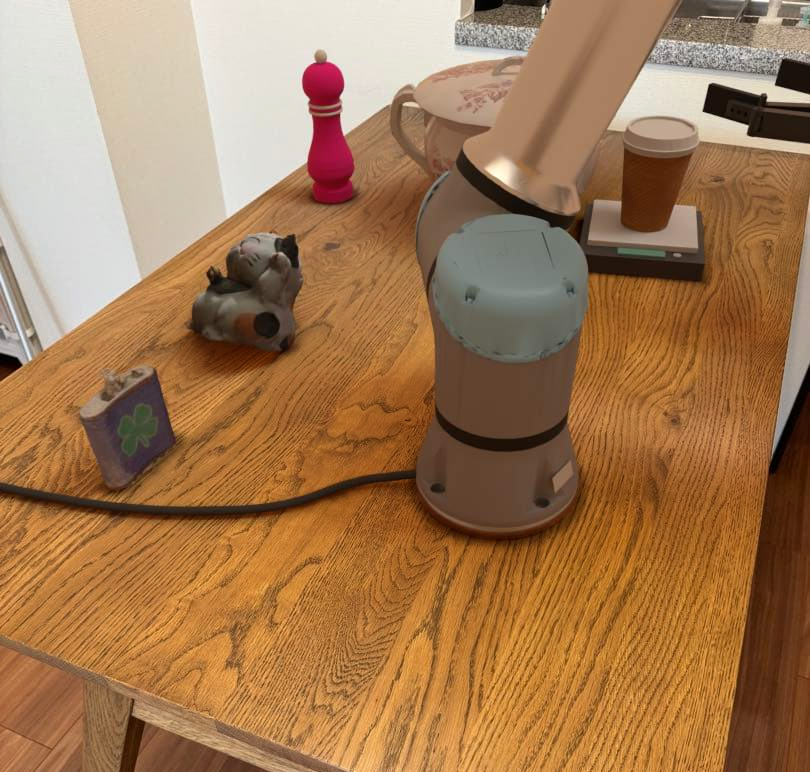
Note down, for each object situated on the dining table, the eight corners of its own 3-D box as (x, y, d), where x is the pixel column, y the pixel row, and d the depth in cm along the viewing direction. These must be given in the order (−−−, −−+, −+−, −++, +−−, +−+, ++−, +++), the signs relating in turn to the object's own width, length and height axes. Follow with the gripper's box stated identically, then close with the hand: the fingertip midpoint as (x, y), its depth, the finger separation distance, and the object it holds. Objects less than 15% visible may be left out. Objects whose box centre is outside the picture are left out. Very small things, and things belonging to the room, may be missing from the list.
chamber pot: (641, 221, 113) (672, 58, 98) (492, 276, 103) (501, 104, 88) (517, 163, 130) (527, 16, 115) (378, 205, 119) (370, 50, 105)
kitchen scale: (575, 270, 103) (578, 247, 101) (584, 219, 114) (587, 197, 112) (700, 281, 101) (707, 257, 98) (697, 227, 111) (703, 205, 109)
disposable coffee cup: (681, 240, 102) (704, 142, 93) (607, 235, 103) (623, 139, 95) (679, 209, 108) (700, 115, 100) (609, 205, 110) (623, 112, 101)
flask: (120, 495, 75) (84, 403, 67) (97, 486, 76) (59, 394, 68) (183, 441, 80) (156, 350, 73) (161, 433, 81) (132, 343, 74)
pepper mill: (365, 191, 123) (356, 46, 109) (338, 208, 119) (325, 59, 105) (328, 183, 126) (315, 40, 112) (301, 199, 122) (283, 53, 107)
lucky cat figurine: (180, 322, 97) (199, 204, 92) (274, 341, 102) (297, 230, 97) (195, 350, 84) (218, 215, 79) (302, 370, 89) (329, 245, 84)
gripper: (851, 209, 73) (666, 147, 84) (976, 144, 83) (796, 97, 95) (885, 122, 67) (682, 68, 79) (1014, 64, 78) (819, 24, 90)
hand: (744, 84), depth 87 cm, fingers open, 13 cm apart
